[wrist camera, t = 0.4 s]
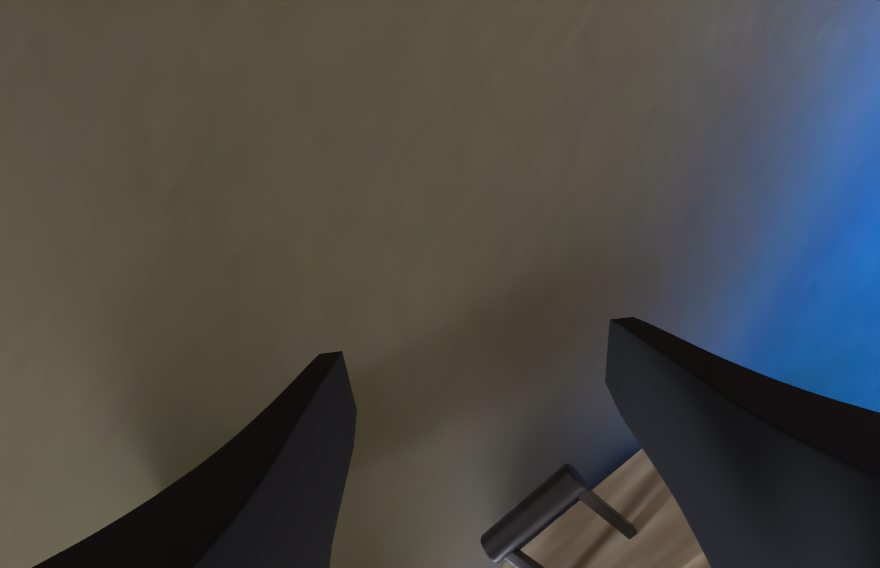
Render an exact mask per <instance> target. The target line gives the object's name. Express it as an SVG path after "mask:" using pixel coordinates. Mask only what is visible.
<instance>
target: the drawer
mask: <svg viewBox="0 0 880 568" xmlns="http://www.w3.org/2000/svg"><path fill="white" fill-rule="evenodd" d="M576 498H578V499H580V500H579V501H578V502H577V503H576V504H574V505H573V506H572V507H571V508H570V509H568V510H567V511H566V512H565V513H564V514H562V515H561V516H560V517H559V518H558V519H556V520H555V521H554V522H553V523H552V524H550V525H549V526H548V527H547V528H546V529H544V530H543V531H542V532H541V533H540V534H538V535H537V536H536V537H535V538H534V539H532V540H531V541H530V542H529V543H527V544H526V545H525V546H524V547H523V548H521V549H518V548H517V547H518V546H519V545H520V544H522V543H523V542H524V541H525V540H526V539H528V538H529V537H530V536H531V535H532V534H534V533H535V532H536V531H537V530H538V529H540V528H541V527H542V526H543V525H544V524H546V523H547V522H548V521H549V520H550V519H552V518H553V517H554V516H555V515H556V514H558V513H559V512H560V511H561V510H562V509H564V508H565V507H566V506H567V505H568V504H570V503H571V502H572V501H573V500H574V499H576ZM481 544H482V547H483V549H484V551H485V553H486V554H487V556H488V557H489V558H490V559H491V560H492V561H494V562H500V561H501V560H502V559H506V560H507V561H506V562H505V563H503V568H711V567H710V565H709V563H708V561H707V559H706V557H705V555H704V553H703V551H702V549H701V547H700V545H699V543H698V541H697V539H696V537H695V535H694V533H693V531H692V530H691V528H690V526H689V524H688V522H687V520H686V518H685V516H684V514H683V512H682V510H681V509H680V507H679V505H678V503H677V502H676V500H675V498H674V497H673V495H672V493H671V492H670V490H669V488H668V487H667V485H666V484H665V482H664V481H663V479H662V478H661V476H660V475H659V473H658V472H657V470H656V468H655V467H654V465H653V464H652V462H651V461H650V459H649V458H648V456H647V455H646V453H645V452H644V450H643V449H641V450H639V451H638V452H637V453H636V454H635V455H633V456H632V457H631V458H630V459H629V460H627V461H626V462H625V463H624V464H623V465H621V466H620V467H619V468H618V469H617V470H615V471H614V472H613V473H612V474H611V475H609V476H608V477H607V478H606V479H604V480H603V481H602V482H601V483H600V484H598V485H597V486H596V487H595V488H594V489H592V490H590V489H589V488H588V487H587V485H586V483H585V481H584V479H583V478H582V477H581V475H580V474H579V473H578V472H577V470H576V469H575V468H574V467H572V466H571V465H570V464H565V465H564V466H562V467H561V468H560V469H559V470H558V471H557V472H555V473H554V474H553V475H552V476H551V477H550V478H548V479H547V480H546V481H545V482H544V483H543V484H541V485H540V486H539V487H538V488H537V489H536V490H534V491H533V492H532V493H531V494H530V495H529V496H527V497H526V498H525V499H524V500H523V501H522V502H520V503H519V504H518V505H517V506H516V507H515V508H513V509H512V510H511V511H510V512H509V513H508V514H506V515H505V516H504V517H503V518H502V519H501V520H499V521H498V522H497V523H496V524H495V525H494V526H492V527H491V528H490V529H489V530H488V531H487V532H485V533H484V534H483V535H482V537H481Z"/></svg>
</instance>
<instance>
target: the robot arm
mask: <svg viewBox="0 0 880 568" xmlns="http://www.w3.org/2000/svg"><path fill="white" fill-rule="evenodd" d="M605 382H606V384H607V387H608V389H609V391H610V393H611V395H612V398H613V400H614V402H615V404H616V406H617V408H618V410H619V412H620V414H621V416H622V417H623V419H624V421H625V422H626V424H627V425H628V427H629V428H630V430H631V432H632V433H633V435H634V436H635V438H636V439H637V441H638V442H639V444H640V445H641V447H642V449H643V450H644V452H645V453H646V455H647V456H648V458H649V459H650V461H651V462H652V464H653V465H654V467H655V468H656V470H657V472H658V473H659V475H660V476H661V478H662V479H663V481H664V482H665V484H666V485H667V487H668V488H669V490H670V492H671V493H672V495H673V497H674V498H675V500H676V502H677V503H678V505H679V507H680V509H681V510H682V512H683V514H684V516H685V518H686V520H687V522H688V524H689V526H690V528H691V530H692V531H693V533H694V535H695V537H696V539H697V541H698V543H699V545H700V547H701V549H702V551H703V553H704V555H705V557H706V559H707V561H708V563H709V565H710V567H711V568H880V413H879V412H875V411H872V410H868V409H865V408H861V407H858V406H854V405H851V404H847V403H844V402H841V401H837V400H834V399H831V398H828V397H824V396H821V395H818V394H815V393H812V392H809V391H806V390H803V389H801V388H798V387H795V386H792V385H789V384H786V383H783V382H781V381H778V380H775V379H772V378H770V377H767V376H765V375H762V374H759V373H757V372H754V371H752V370H750V369H747V368H745V367H742V366H740V365H738V364H735V363H733V362H730V361H728V360H726V359H724V358H721V357H719V356H717V355H715V354H712V353H710V352H708V351H706V350H704V349H702V348H699V347H697V346H695V345H693V344H691V343H689V342H687V341H685V340H683V339H680V338H678V337H676V336H674V335H672V334H670V333H668V332H666V331H664V330H662V329H660V328H657V327H655V326H653V325H651V324H649V323H647V322H644V321H642V320H640V319H637V318H634V317H628V318H619V319H611V320H610V325H609V338H608V351H607V364H606V377H605ZM356 415H357V409H356V405H355V401H354V397H353V393H352V389H351V385H350V381H349V377H348V373H347V369H346V365H345V361H344V357H343V353H342V351H340V352H331V353H323V354H319V355H318V356H317V357H316V358H315V359H314V360H313V361H312V362H311V363H310V364H309V365H308V366H307V367H306V368H305V369H304V370H303V371H302V372H301V373H300V374H299V375H298V376H297V377H296V378H295V380H294V381H293V382H292V383H291V384H290V385H289V386H288V387H287V388H286V389H285V390H284V391H283V392H282V393H281V394H280V395H279V396H278V397H277V398H276V399H275V400H274V401H273V402H272V403H271V404H270V405H269V406H268V407H267V408H266V409H264V410H263V411H262V412H261V413H260V414H259V415H258V416H257V417H256V418H255V419H254V420H253V421H252V422H251V423H249V424H248V425H247V426H246V427H245V428H244V429H243V430H242V431H241V432H240V433H238V434H237V435H236V436H235V437H234V438H233V439H231V440H230V441H229V442H228V443H227V444H225V445H224V446H223V447H222V448H220V449H219V450H218V451H217V452H215V453H214V454H213V455H212V456H210V457H209V458H208V459H206V460H205V461H204V462H203V463H201V464H200V465H199V466H197V467H196V468H194V469H193V470H192V471H190V472H189V473H187V474H186V475H184V476H183V477H182V478H180V479H179V480H177V481H176V482H174V483H173V484H172V485H170V486H169V487H167V488H166V489H164V490H163V491H161V492H160V493H159V494H157V495H156V496H154V497H153V498H151V499H150V500H148V501H147V502H145V503H143V504H142V505H140V506H139V507H137V508H136V509H134V510H132V511H131V512H129V513H128V514H126V515H124V516H123V517H121V518H119V519H118V520H116V521H114V522H113V523H111V524H109V525H108V526H106V527H104V528H103V529H101V530H99V531H98V532H96V533H94V534H93V535H91V536H89V537H87V538H86V539H84V540H82V541H80V542H79V543H77V544H75V545H73V546H71V547H69V548H68V549H66V550H64V551H62V552H60V553H58V554H56V555H55V556H53V557H51V558H49V559H47V560H45V561H43V562H42V563H40V564H38V565H36V566H34V567H32V568H329V565H330V557H331V549H332V543H333V538H334V532H335V527H336V523H337V518H338V514H339V510H340V505H341V501H342V496H343V492H344V487H345V483H346V479H347V474H348V470H349V465H350V461H351V456H352V451H353V446H354V438H355V427H356Z"/></svg>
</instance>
